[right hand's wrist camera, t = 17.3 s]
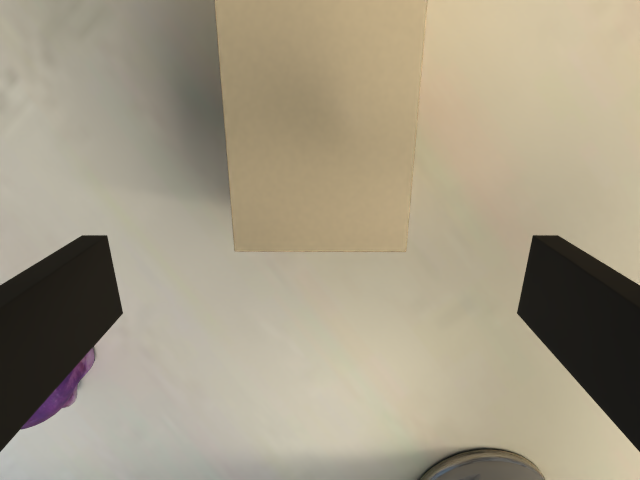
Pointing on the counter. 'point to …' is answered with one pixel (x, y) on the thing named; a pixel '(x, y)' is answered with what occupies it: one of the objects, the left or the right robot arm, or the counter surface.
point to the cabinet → (320, 121)
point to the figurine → (62, 392)
